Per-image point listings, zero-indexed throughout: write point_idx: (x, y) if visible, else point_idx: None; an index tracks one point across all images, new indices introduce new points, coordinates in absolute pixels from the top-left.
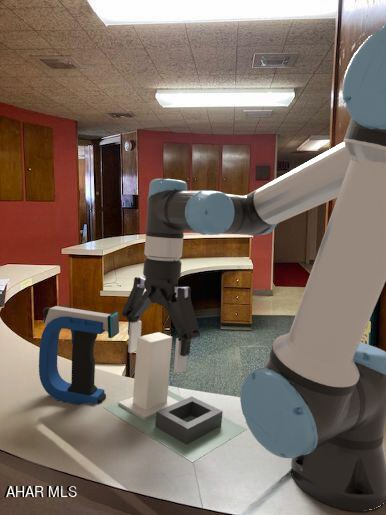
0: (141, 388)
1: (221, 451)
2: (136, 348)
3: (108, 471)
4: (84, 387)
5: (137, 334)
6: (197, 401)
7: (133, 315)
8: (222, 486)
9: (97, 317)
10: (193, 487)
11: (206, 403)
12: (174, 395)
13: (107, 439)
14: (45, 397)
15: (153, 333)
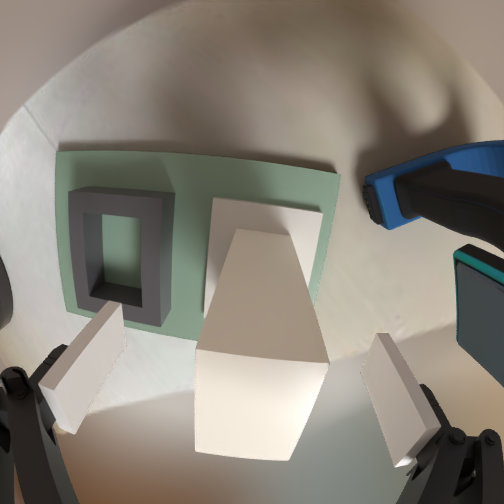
0: (258, 248)
1: None
2: (369, 366)
3: (157, 32)
4: (419, 177)
5: (387, 408)
6: (134, 313)
7: (437, 466)
8: (21, 155)
9: None
10: (42, 119)
11: None
12: None
13: (237, 91)
14: None
15: (295, 441)
